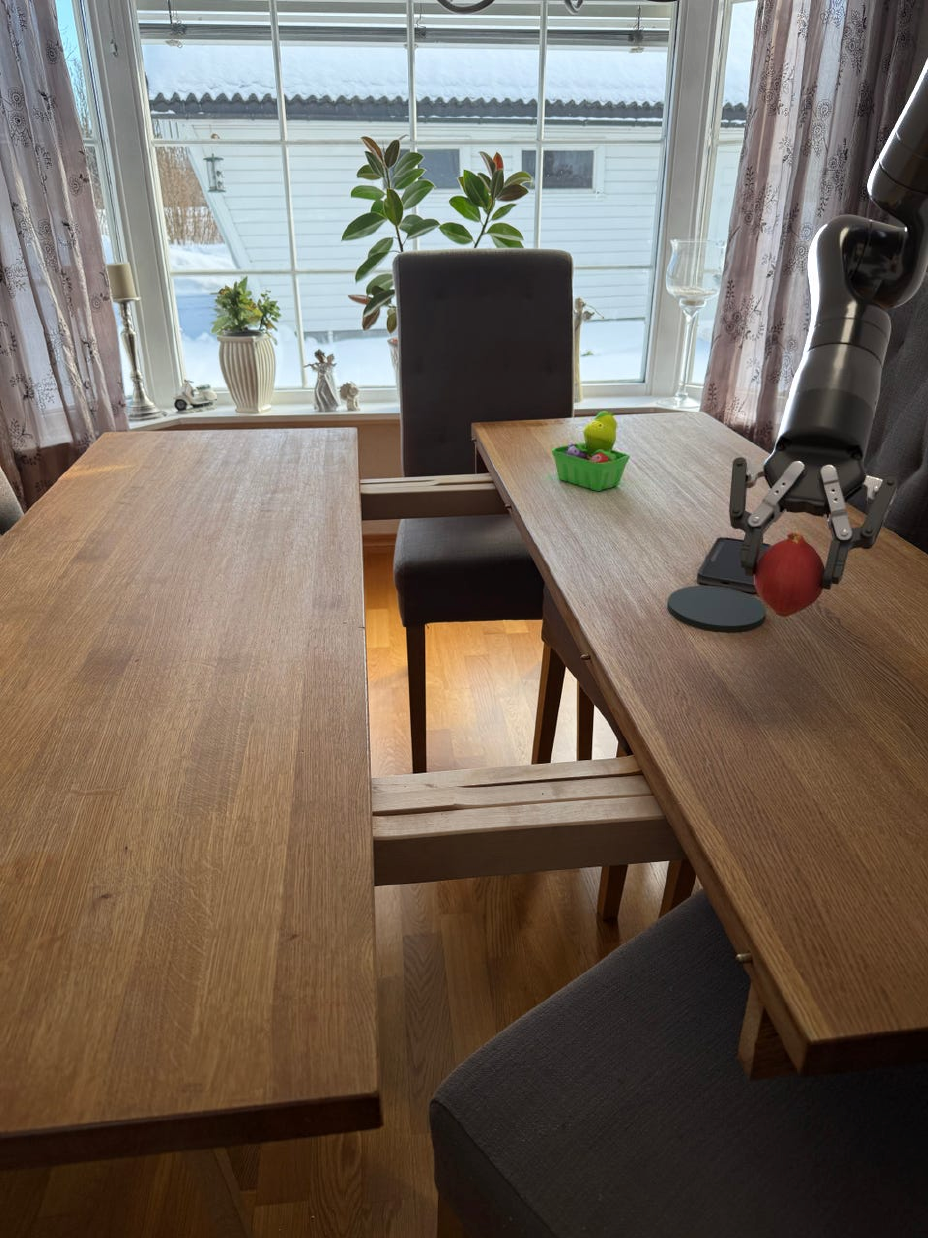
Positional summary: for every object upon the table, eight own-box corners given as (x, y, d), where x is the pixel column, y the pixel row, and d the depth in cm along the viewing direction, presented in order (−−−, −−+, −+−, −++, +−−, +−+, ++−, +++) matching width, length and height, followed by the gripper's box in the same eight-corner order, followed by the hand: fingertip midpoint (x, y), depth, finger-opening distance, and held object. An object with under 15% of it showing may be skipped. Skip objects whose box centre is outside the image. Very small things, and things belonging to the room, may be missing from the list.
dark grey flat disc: (763, 597, 106) (764, 591, 106) (767, 637, 96) (768, 631, 96) (669, 587, 108) (670, 581, 108) (664, 625, 99) (665, 618, 98)
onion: (757, 597, 82) (770, 514, 78) (822, 610, 79) (839, 525, 76) (741, 621, 77) (754, 534, 74) (810, 635, 75) (826, 547, 71)
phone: (777, 545, 118) (760, 585, 106) (776, 553, 119) (759, 594, 106) (717, 535, 121) (694, 573, 109) (716, 543, 122) (693, 582, 109)
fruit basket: (547, 478, 148) (550, 411, 143) (583, 469, 153) (587, 403, 149) (598, 495, 141) (604, 424, 136) (634, 484, 146) (641, 416, 141)
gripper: (745, 377, 79) (698, 546, 75) (923, 392, 73) (883, 576, 69) (749, 424, 85) (705, 581, 81) (912, 441, 80) (874, 612, 75)
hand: (787, 578), depth 75 cm, fingers closed on onion, 5 cm apart
